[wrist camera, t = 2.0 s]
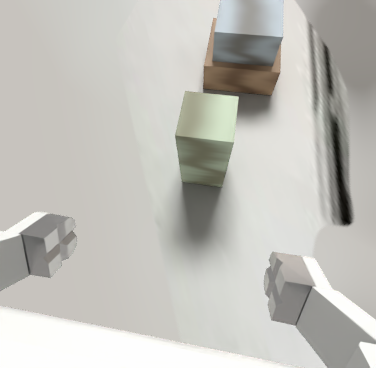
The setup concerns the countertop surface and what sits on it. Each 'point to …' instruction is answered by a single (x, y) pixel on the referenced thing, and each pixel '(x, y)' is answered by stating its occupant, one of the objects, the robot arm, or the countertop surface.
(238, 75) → the pedestal
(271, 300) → the robot arm
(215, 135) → the green brick
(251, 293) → the countertop surface
